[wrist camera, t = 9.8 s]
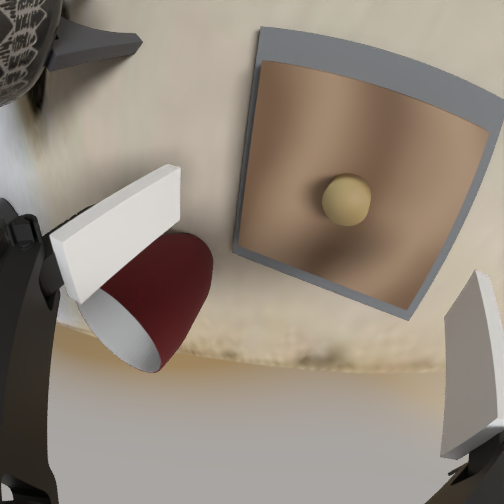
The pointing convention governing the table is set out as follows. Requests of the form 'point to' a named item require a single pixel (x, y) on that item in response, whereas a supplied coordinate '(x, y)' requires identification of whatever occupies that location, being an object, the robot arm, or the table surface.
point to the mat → (388, 76)
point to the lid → (354, 180)
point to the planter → (48, 44)
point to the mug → (152, 301)
